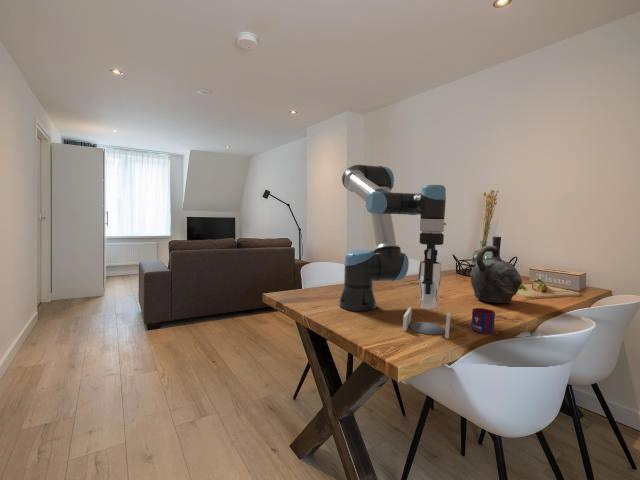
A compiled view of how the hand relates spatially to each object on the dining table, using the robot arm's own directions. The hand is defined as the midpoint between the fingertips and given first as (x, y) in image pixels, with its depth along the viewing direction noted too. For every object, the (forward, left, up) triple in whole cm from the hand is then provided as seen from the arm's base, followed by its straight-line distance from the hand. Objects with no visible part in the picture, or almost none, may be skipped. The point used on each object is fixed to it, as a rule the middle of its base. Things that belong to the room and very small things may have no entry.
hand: (428, 301), depth 107 cm
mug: (+18, +9, -10) cm, 22 cm away
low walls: (0, 0, -10) cm, 10 cm away
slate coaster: (0, 0, -10) cm, 10 cm away
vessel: (+23, +54, -10) cm, 60 cm away
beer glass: (0, 0, -2) cm, 2 cm away
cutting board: (+47, +89, -10) cm, 101 cm away
